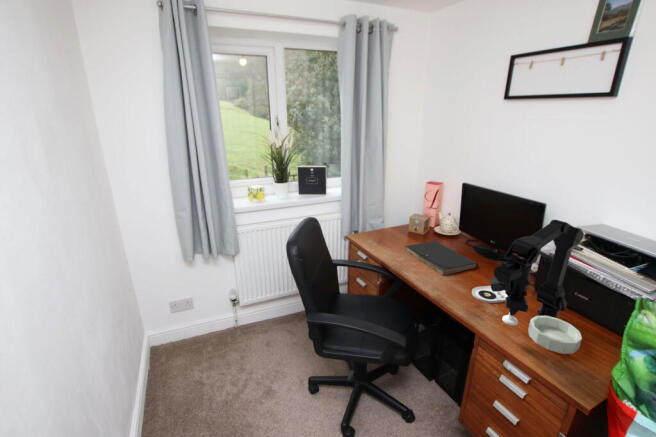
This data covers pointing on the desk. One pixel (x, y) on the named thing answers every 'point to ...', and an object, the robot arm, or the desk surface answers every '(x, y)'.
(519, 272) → the robot arm
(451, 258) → the dark grey book
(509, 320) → the chess piece
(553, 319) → the bowl
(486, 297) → the record player
